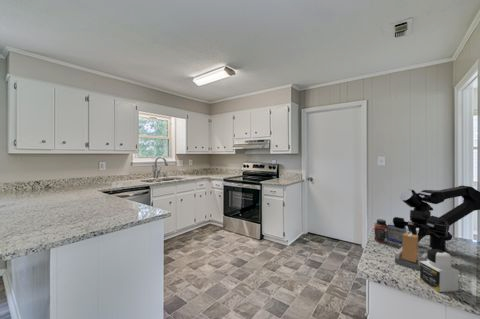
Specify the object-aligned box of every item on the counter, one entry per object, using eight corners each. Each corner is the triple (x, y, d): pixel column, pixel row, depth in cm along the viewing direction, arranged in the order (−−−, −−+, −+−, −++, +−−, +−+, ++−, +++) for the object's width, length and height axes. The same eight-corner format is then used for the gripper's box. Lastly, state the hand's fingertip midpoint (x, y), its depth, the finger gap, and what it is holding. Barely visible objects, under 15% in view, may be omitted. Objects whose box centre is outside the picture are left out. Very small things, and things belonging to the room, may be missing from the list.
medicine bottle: (419, 280, 79) (419, 247, 79) (437, 279, 79) (438, 246, 79) (439, 292, 72) (439, 256, 71) (458, 291, 72) (459, 255, 72)
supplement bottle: (390, 244, 111) (390, 222, 110) (377, 243, 112) (377, 221, 112) (384, 239, 116) (385, 218, 116) (372, 238, 118) (372, 218, 117)
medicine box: (387, 240, 115) (387, 224, 115) (387, 238, 119) (387, 222, 119) (405, 244, 111) (406, 227, 111) (405, 241, 114) (405, 224, 114)
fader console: (406, 249, 104) (406, 241, 104) (431, 256, 97) (431, 247, 97) (395, 262, 91) (395, 253, 91) (422, 271, 85) (422, 261, 84)
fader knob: (404, 255, 93) (405, 232, 93) (417, 259, 89) (418, 235, 89) (402, 258, 90) (402, 234, 90) (415, 262, 87) (415, 237, 87)
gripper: (393, 200, 105) (386, 228, 98) (446, 206, 91) (443, 239, 84) (398, 213, 110) (391, 240, 103) (448, 221, 96) (445, 253, 89)
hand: (415, 243), depth 95 cm, fingers closed
